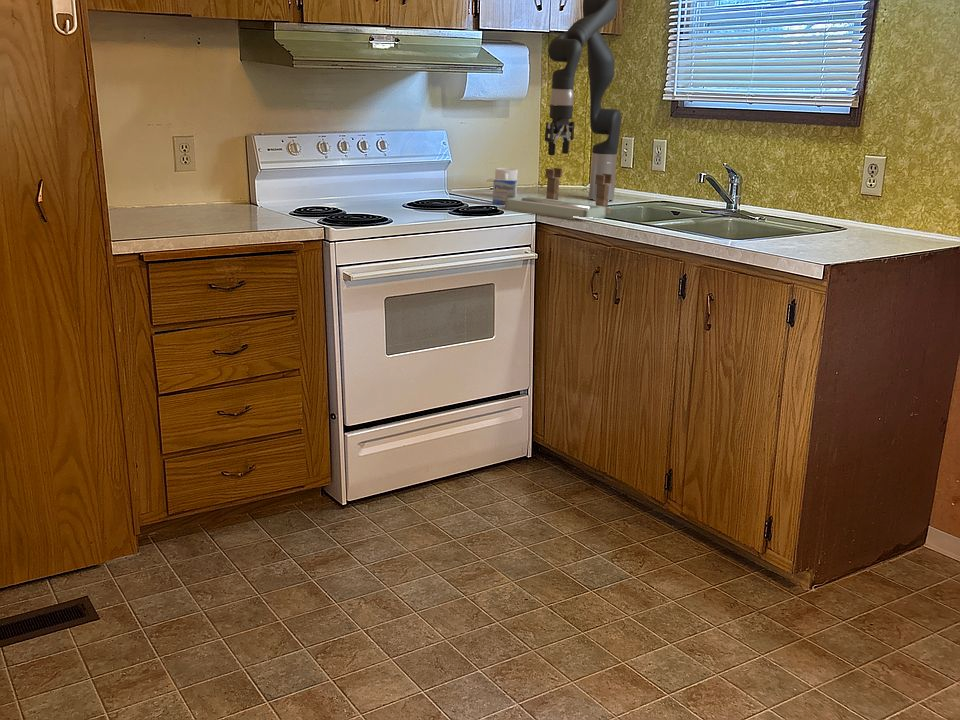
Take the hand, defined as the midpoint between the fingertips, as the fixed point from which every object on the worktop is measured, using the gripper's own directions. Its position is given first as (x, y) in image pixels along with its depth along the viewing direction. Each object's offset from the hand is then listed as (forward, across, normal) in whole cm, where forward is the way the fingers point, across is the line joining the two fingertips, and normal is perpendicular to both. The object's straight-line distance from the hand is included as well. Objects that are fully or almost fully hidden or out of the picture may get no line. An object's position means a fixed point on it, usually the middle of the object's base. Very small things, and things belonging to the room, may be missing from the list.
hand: (558, 154), depth 306 cm
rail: (+19, 0, 0) cm, 19 cm away
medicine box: (+20, -3, -23) cm, 30 cm away
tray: (+20, 0, 0) cm, 20 cm away
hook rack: (+20, -14, 0) cm, 24 cm away
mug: (+20, -18, -33) cm, 42 cm away
